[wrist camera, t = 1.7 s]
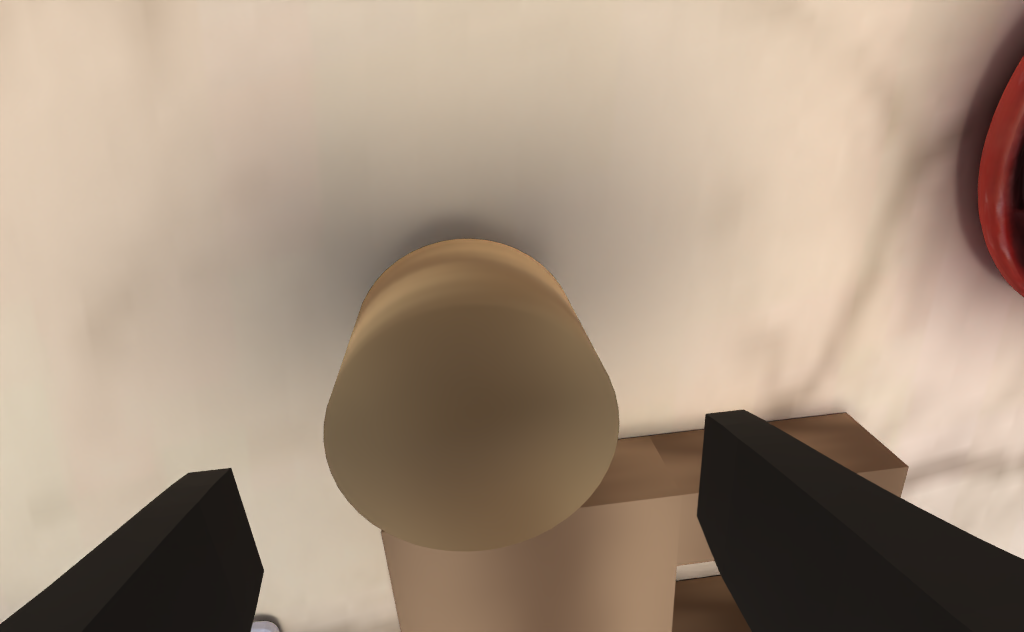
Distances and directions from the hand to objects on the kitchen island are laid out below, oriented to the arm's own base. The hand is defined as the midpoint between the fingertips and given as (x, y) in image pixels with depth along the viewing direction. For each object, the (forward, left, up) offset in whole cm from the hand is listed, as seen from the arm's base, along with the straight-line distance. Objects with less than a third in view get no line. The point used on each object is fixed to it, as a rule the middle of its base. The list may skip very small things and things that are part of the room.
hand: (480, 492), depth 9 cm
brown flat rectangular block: (+5, -11, -9) cm, 15 cm away
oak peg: (0, 0, -9) cm, 9 cm away
